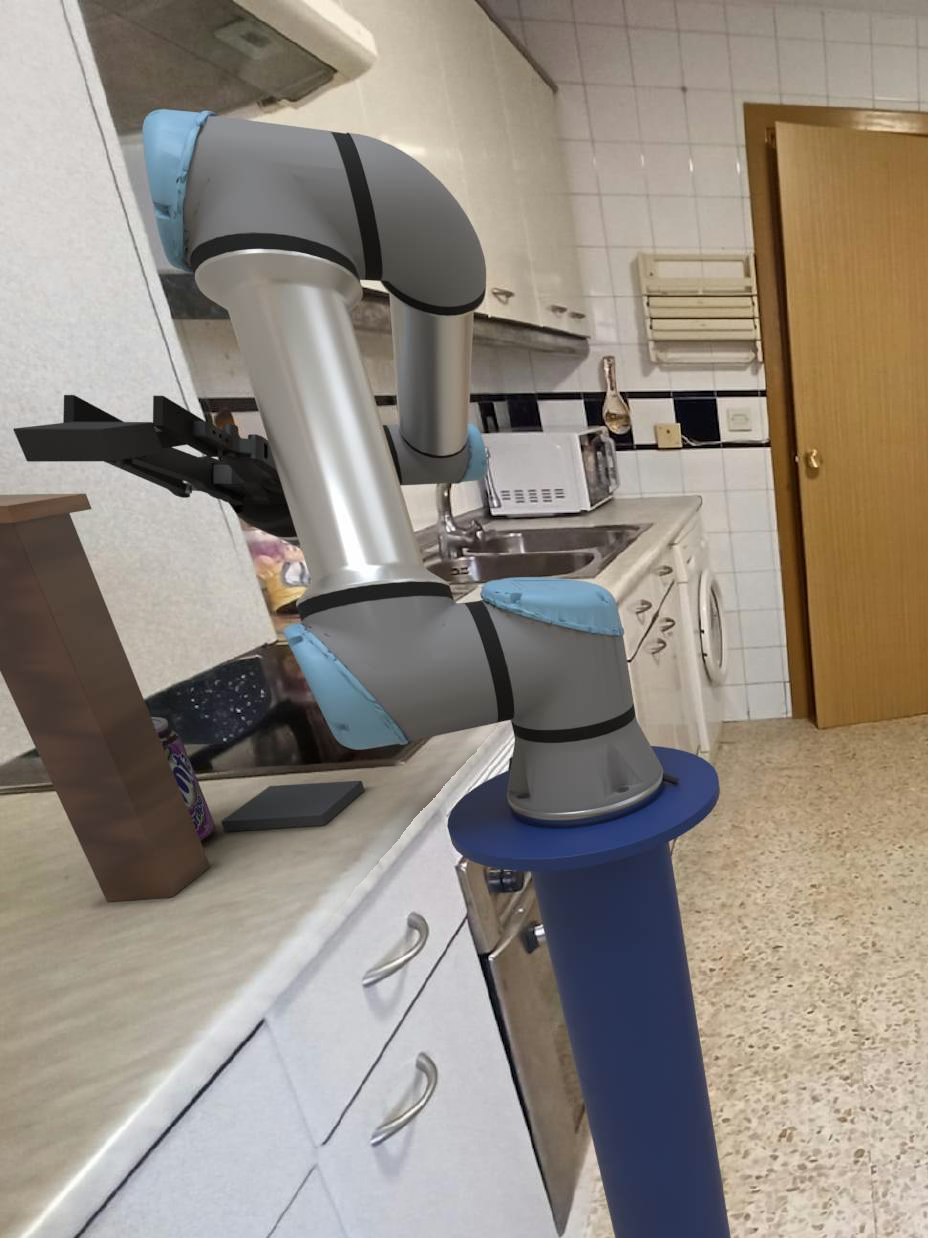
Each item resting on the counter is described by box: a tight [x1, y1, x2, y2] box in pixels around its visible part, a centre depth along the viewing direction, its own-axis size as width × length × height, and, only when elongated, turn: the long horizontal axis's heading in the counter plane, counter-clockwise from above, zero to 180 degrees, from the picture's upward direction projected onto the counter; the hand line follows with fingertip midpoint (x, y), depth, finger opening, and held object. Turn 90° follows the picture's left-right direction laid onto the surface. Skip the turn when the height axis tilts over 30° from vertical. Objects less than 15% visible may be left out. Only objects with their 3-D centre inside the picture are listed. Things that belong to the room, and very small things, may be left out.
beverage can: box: [151, 716, 216, 842], centre depth 79 cm, size 7×7×12 cm
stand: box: [0, 493, 212, 903], centre depth 69 cm, size 6×7×33 cm
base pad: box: [220, 780, 365, 833], centre depth 88 cm, size 9×8×1 cm
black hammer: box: [13, 421, 188, 463], centre depth 74 cm, size 6×15×2 cm, turn 9°
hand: (114, 410), depth 73 cm, fingers closed on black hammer, 6 cm apart
